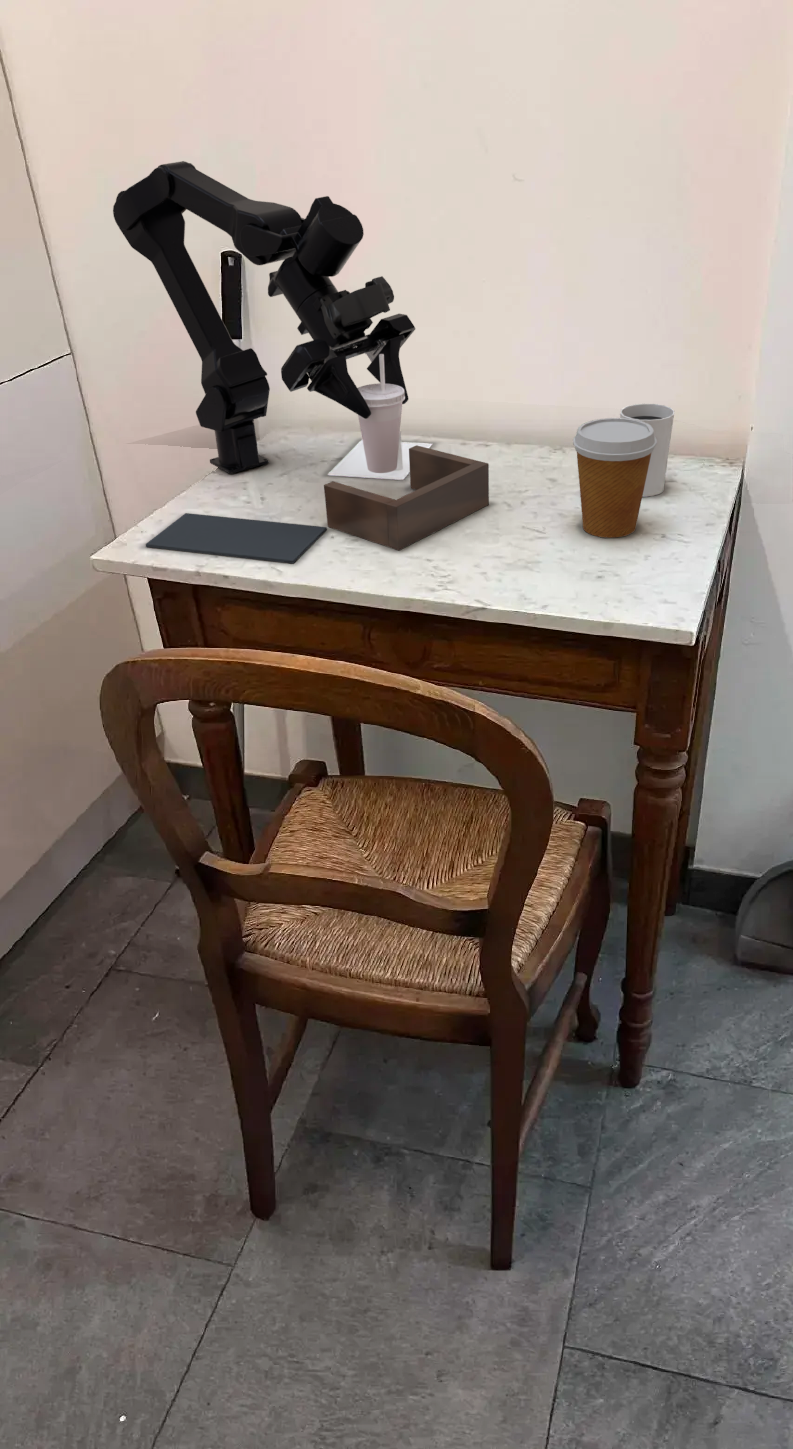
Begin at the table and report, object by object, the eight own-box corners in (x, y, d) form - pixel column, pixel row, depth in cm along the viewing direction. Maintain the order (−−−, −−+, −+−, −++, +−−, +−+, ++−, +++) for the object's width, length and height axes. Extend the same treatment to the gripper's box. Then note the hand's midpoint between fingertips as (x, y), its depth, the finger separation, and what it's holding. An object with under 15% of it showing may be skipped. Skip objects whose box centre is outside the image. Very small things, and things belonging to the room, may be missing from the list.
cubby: (327, 526, 133) (323, 484, 130) (418, 484, 143) (416, 445, 140) (399, 550, 126) (396, 507, 123) (489, 504, 136) (488, 463, 133)
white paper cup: (646, 502, 134) (652, 424, 129) (604, 489, 138) (609, 413, 133) (678, 487, 138) (685, 410, 132) (636, 475, 142) (642, 400, 136)
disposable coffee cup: (631, 549, 123) (639, 448, 116) (556, 535, 127) (559, 437, 121) (661, 519, 129) (670, 422, 123) (588, 507, 134) (593, 412, 127)
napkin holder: (360, 439, 160) (357, 401, 157) (433, 443, 157) (431, 404, 154) (326, 475, 148) (322, 435, 145) (404, 480, 145) (402, 439, 142)
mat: (145, 547, 131) (145, 544, 131) (186, 515, 138) (185, 513, 138) (293, 563, 124) (293, 560, 124) (326, 530, 132) (326, 527, 132)
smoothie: (402, 478, 131) (397, 362, 123) (351, 476, 132) (344, 361, 124) (411, 459, 136) (408, 347, 128) (363, 457, 137) (356, 346, 129)
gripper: (287, 272, 117) (365, 390, 117) (401, 243, 128) (472, 351, 128) (248, 335, 126) (321, 445, 126) (358, 303, 137) (424, 404, 137)
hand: (387, 409), depth 129 cm, fingers closed on smoothie, 6 cm apart
